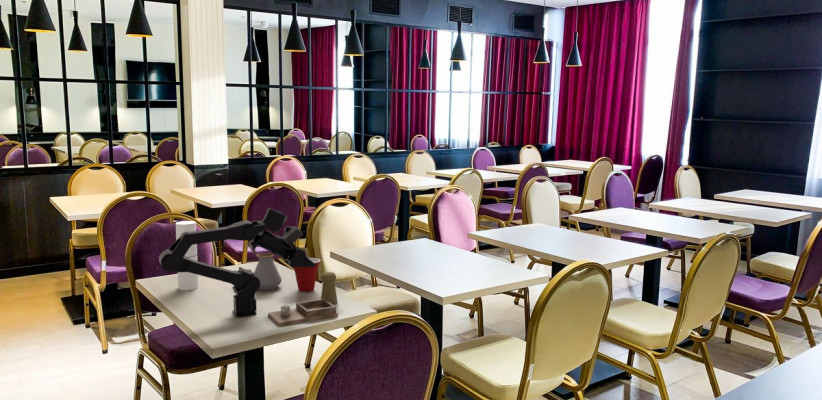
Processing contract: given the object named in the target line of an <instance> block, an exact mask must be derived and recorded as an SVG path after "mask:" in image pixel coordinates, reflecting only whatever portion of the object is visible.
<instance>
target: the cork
mask: <svg viewBox="0 0 822 400" xmlns="http://www.w3.org/2000/svg"><path fill="white" fill-rule="evenodd" d="M336 280H337V274H336V273H335V272H331V271H327V272H323V273H322V274H321V282H322V286H321V287H322V288H321V295H320V299H325V300H327V301H328V302H330V303H331V304H333V305H334V306H336V305H337V304H338V297H337V296H338V294H337V290H336V289H337V287H336V283H335V282H336Z"/></svg>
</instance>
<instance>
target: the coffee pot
mask: <svg viewBox="0 0 822 400" xmlns="http://www.w3.org/2000/svg"><path fill="white" fill-rule="evenodd" d="M246 245H247V246H246ZM244 246H245V248H250V250H251V251H252V253H253V254H254V255H255V256H256V257H257V258H258V261H257V264H256V267H255V270H254V271H253V273H254V274H255V275H256V276H257V277H258V278H259V280H260V287H259V289H258V290H257V291H272V290H275V289H277V287H278V286H280V285H281V283H282V276H281V275H280V273H279V271H278V268H277V266H276V264H275V261H274V257H275V255H274V254H272V253H271V252H263V253H262V252H261V253H258V252H257V251H256V249H255V250H253V249H251V247H250V243H249V242H246V243H245V245H244Z"/></svg>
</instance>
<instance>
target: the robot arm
mask: <svg viewBox="0 0 822 400" xmlns="http://www.w3.org/2000/svg"><path fill="white" fill-rule="evenodd" d="M287 219H288V216H287V215H285V214H284V213H282V212H280V211H278V210H276V209H273V208H271V207H267V210H266V213H265V215H264V217H263V218H262V220H254V221H249V220H245V219H244V220H240V221H238V222H234V223H232V224H230V225H227V226H223V227H215V228H208V229H200V230H196V231H192V232H188V231H187V232H184V233H182V234H181V236H180V237H179V238H178V239H177V240H176V239H175V241H174V242H173V243H172V244H171V245H170V246H169V247H168V249H167V248H166V249H165V250H164V251H162V252H160V254H159V257H158V259H159V260H158V261H159V264H160V267H161V268H162V269H163V271H165V272H171V273H178V272H189V273H193V274H197V275H198V276H200V277H201V276H202V277H204V278H209V279H212V280H217V281H220V282H224V283H228V284H230V285H233V286H232V291H233V293H234V295H233V297H232V298H233V310H232V314H233V315H234V316H236V318H242V317H249V316H254V315H255V316H256V315H257V298H255V297H256V296H255V295H256V293H257V291H259V290H258V289H259V287H260V280H259V278H258V277H257V276H256V275H255V274H254V271H253V270H251V268H250V269H246V268H244V267H241V266H238V270H231V269H227V268H224V267H221V266H220V267H219V266H216V265H213V264H209V263H206V262H202V261H199V260H197V261H195V260H192V259H189V258H188V257H186V256H185V254H186V253H187V251H188V250H189V248H190V247H191V246H192V245H194V244H197V245H198V244H199V245H200V244H208V243H213V242H220V241H227V240H228V241H229V240H231V241H233V240H234V241H248V243H250V247H251V248H250V250H251V249H253V250H256V249H257V247H260V248H261V249H264V250H266V251H267V252H268V253H272V254H274V256H275V255H276V256H278V257H280V258H281V259H282V260H284V261H286V260H287V263H288V264H289V265H290V266H291V267H293V268H294V267H295V268H296V267H315V266H316V264H315V263H313V262H312V261H311V260H310V259H308V258H309V257H308V256H307V254H306V253H307V252H306V251H305V250H304V249H303V248H301V247H299V246H296V244H295V242H296V241H297V240H299V239H300V238H302V237H303V235H304V233H303V232H302V231H301V230H300V229H299V227H298V226H295V225H293V226H288V225H286V226H285V227H283V226H284V223H285V222H286V220H287ZM282 228H283V230H284V233H283V235H282V236H280V235H276V234H274V233H278V232H280V231H281V229H282ZM268 230H269V231H268ZM270 231H271V232H270ZM272 232H273V233H272Z"/></svg>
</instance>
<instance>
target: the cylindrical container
mask: <svg viewBox="0 0 822 400" xmlns="http://www.w3.org/2000/svg"><path fill="white" fill-rule="evenodd" d="M187 231H188V232H192V231H197V222H196V221H194V220H183V221H176V223H175V238H176V239H175V241H176V240H177V239H178V238H179V237H180V236H181V234H182V233H184V232H187ZM185 256H186V257H188V258H189V259H192V260H195V261H198V244H194V245H192V246H191V247H190V248H189V250H188V251H187V253H186V254H185ZM177 283H178V284H177V286H178V290H180V291H192V290H197V289H198V288H199V275H197V274H193V273H189V272H177Z"/></svg>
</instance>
